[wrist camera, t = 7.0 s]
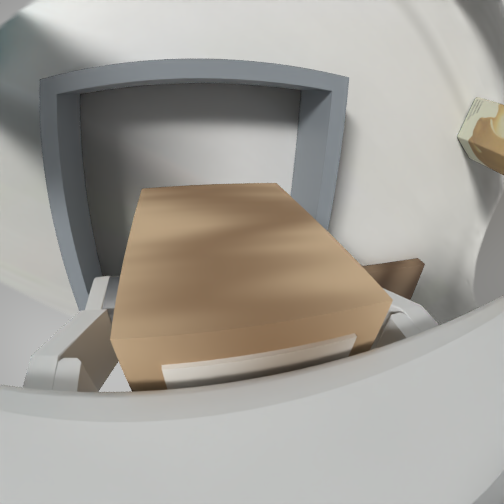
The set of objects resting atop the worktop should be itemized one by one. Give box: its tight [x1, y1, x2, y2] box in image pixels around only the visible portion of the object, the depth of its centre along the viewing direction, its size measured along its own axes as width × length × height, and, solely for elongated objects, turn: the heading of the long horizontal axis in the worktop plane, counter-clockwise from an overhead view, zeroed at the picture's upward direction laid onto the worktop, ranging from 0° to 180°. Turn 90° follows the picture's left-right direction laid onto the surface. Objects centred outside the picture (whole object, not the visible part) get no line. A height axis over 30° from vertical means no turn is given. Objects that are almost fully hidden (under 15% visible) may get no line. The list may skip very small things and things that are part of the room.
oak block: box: [110, 183, 393, 392], centre depth 9 cm, size 5×5×7 cm
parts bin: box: [40, 59, 349, 311], centre depth 16 cm, size 16×16×4 cm
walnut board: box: [362, 258, 425, 300], centre depth 29 cm, size 13×13×1 cm
